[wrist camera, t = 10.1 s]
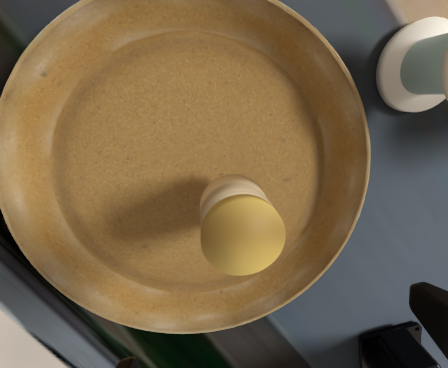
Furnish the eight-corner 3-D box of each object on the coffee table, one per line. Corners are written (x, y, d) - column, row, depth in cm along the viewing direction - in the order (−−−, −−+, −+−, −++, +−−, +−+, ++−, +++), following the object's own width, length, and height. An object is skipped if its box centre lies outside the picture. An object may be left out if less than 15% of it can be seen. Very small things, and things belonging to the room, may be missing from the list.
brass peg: (269, 226, 18) (290, 264, 14) (208, 240, 18) (211, 284, 14) (258, 167, 17) (279, 190, 12) (192, 182, 16) (190, 211, 12)
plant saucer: (395, 193, 22) (428, 209, 19) (185, 345, 25) (184, 380, 22) (217, -104, 15) (223, -158, 12) (-52, 165, 18) (-104, 179, 15)
